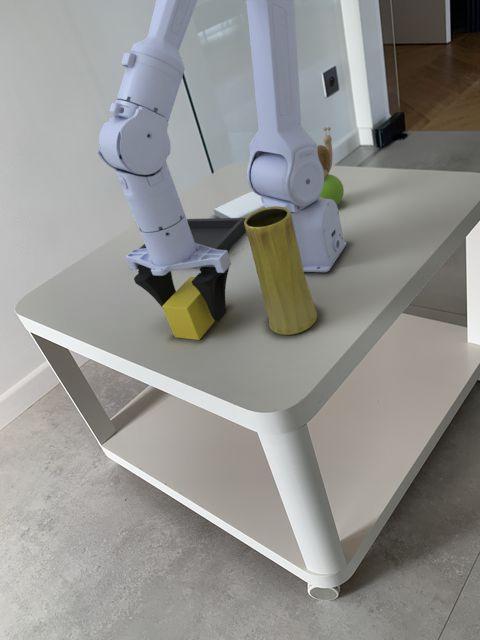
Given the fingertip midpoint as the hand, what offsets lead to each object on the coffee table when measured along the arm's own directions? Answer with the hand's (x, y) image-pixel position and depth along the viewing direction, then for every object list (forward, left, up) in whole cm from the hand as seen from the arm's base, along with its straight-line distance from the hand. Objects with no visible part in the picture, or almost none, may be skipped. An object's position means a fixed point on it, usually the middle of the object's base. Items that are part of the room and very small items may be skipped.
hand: (197, 314), depth 73 cm
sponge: (0, 0, -1) cm, 1 cm away
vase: (-13, -2, -2) cm, 13 cm away
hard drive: (+9, -34, -2) cm, 35 cm away
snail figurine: (-6, -34, -2) cm, 35 cm away
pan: (+14, -20, -1) cm, 24 cm away
